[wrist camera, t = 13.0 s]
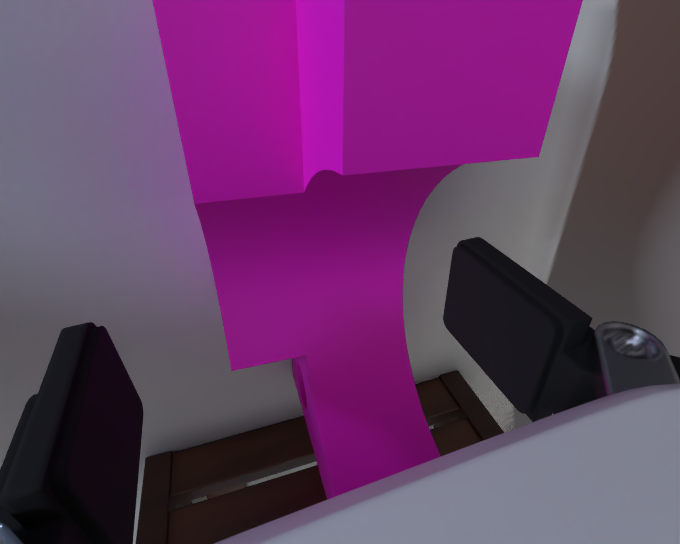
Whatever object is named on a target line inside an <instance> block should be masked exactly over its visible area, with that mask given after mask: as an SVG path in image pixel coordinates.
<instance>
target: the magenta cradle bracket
mask: <svg viewBox="0 0 680 544" xmlns="http://www.w3.org/2000/svg"><path fill="white" fill-rule="evenodd" d="M582 1H583V0H153V5H154V10H155V15H156V20H157V25H158V29H159V34H160V39H161V44H162V49H163V54H164V58H165V63H166V68H167V73H168V78H169V83H170V88H171V92H172V97H173V102H174V107H175V112H176V117H177V121H178V126H179V131H180V136H181V141H182V146H183V150H184V155H185V160H186V165H187V170H188V175H189V179H190V184H191V189H192V194H193V199H194V204H195V207H196V210H197V213H198V216H199V219H200V222H201V226H202V230H203V233H204V237H205V241H206V245H207V249H208V253H209V257H210V262H211V266H212V271H213V275H214V280H215V285H216V289H217V294H218V299H219V304H220V310H221V315H222V320H223V325H224V331H225V336H226V342H227V348H228V354H229V359H230V365H231V371H234V370H238V369H243V368H248V367H253V366H257V365H262V364H267V363H271V362H276V361H281V360H286V359H290V358H292V368H293V377H294V380H295V384H296V388H297V391H298V395H299V399H300V402H301V406H302V410H303V413H304V417H305V421H306V424H307V428H308V432H309V435H310V439H311V443H312V446H313V450H314V454H315V457H316V461H317V464H318V468H319V472H320V475H321V479H322V483H323V486H324V490H325V494H326V497H327V500H328V499H330V498H333V497H336V496H338V495H341V494H343V493H346V492H349V491H351V490H354V489H356V488H359V487H362V486H364V485H367V484H370V483H372V482H375V481H378V480H380V479H383V478H386V477H388V476H391V475H393V474H396V473H399V472H401V471H404V470H407V469H409V468H412V467H415V466H417V465H420V464H422V463H425V462H428V461H430V460H433V459H436V458H438V457H441V456H440V453H439V451H438V449H437V447H436V444H435V442H434V440H433V437H432V434H431V432H430V429H429V427H428V424H427V421H426V418H425V416H424V413H423V410H422V407H421V404H420V400H419V397H418V394H417V390H416V386H415V383H414V379H413V375H412V370H411V366H410V362H409V356H408V351H407V345H406V338H405V330H404V320H403V273H404V264H405V257H406V252H407V246H408V242H409V239H410V235H411V232H412V229H413V226H414V223H415V220H416V218H417V216H418V213H419V211H420V209H421V207H422V206H423V204H424V202H425V200H426V199H427V197H428V196H429V194H430V193H431V192H432V190H433V189H434V188H435V187H436V185H437V184H438V183H439V182H440V181H441V180H442V179H443V178H444V177H445V176H447V175H448V174H449V173H450V172H452V171H453V170H454V169H456V168H458V167H459V166H461V165H463V164H469V163H479V162H489V161H500V160H510V159H521V158H531V157H539V154H540V151H541V147H542V143H543V140H544V136H545V133H546V129H547V126H548V122H549V118H550V115H551V111H552V108H553V104H554V101H555V97H556V93H557V90H558V86H559V83H560V79H561V76H562V72H563V69H564V65H565V61H566V58H567V54H568V51H569V47H570V44H571V40H572V36H573V33H574V29H575V26H576V22H577V19H578V15H579V12H580V8H581V4H582Z"/></svg>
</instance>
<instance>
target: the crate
mask: <svg viewBox="0 0 680 544" xmlns="http://www.w3.org/2000/svg"><path fill="white" fill-rule="evenodd" d="M415 386H416V390H417V394H418V397H419V400H420V404H421V407H422V410H423V413H424V416H425V418H426V421H427V424H428V426H431V425H434V424H435V428H434V429H431V430H430V432H431V434H432V437H433V440H434V442H435V444H436V447H437V449H438V451H439V453H440V456H444V455H446V454H449V453H452V452H454V451H457V450H460V449H462V448H465V447H468V446H470V445H473V444H476V443H478V442H481V441H484V440H486V439H489V438H492V437H494V436H497V435H500V434H502V433H504V432H503V430H502V429H501V428H500V426H499V425H498V424H497V422H496V421H495V420H494V418H493V417H492V416H491V414H490V413H489V412H488V410H487V409H486V408H485V406H484V405H483V404H482V402H481V401H480V400H479V398H478V397H477V396H476V394H475V393H474V391H473V390H472V389H471V387H470V386H469V385H468V383H467V382H466V381H465V379H464V378H463V377H462V375H461V374H460V373H459V371H455V372H451V373H448V374H444V375H441V376H440V378H439V379H435V380H432V381H428V382H425V383H421V384H418V385H415ZM315 461H316V457H315V454H314V450H313V446H312V443H311V439H310V435H309V432H308V428H307V424H306V421H305V417H301V418H297V419H294V420H290V421H287V422H283V423H280V424H276V425H273V426H269V427H266V428H262V429H258V430H255V431H251V432H248V433H244V434H241V435H237V436H234V437H230V438H227V439H223V440H220V441H216V442H212V443H209V444H205V445H202V446H198V447H195V448H191V449H188V450H184V451H181V452H177V453H174V454H172V452H171V451H170V452H167V453H163V454H159V455H156V456H152V457H149V458H146V459H145V468H144V476H143V485H142V494H141V502H140V511H139V520H138V528H137V537H136V544H214V543H216V542H219V541H221V540H224V539H226V538H229V537H231V536H234V535H237V534H239V533H242V532H244V531H247V530H250V529H252V528H255V527H257V526H260V525H263V524H265V523H268V522H270V521H273V520H276V519H278V518H281V517H283V516H286V515H289V514H291V513H294V512H296V511H299V510H302V509H304V508H307V507H310V506H312V505H315V504H317V503H320V502H323V501H325V500H327V497H326V494H325V490H324V486H323V483H322V479H321V475H320V472H319V468H318V465H316V466H313V467H310V468H306V469H303V470H300V471H297V472H294V473H291V474H287V475H284V476H281V477H278V478H275V479H271V480H268V481H265V482H262V483H259V484H255V485H252V486H249V487H246V484H245V483H248V482H251V481H254V480H257V479H261V478H264V477H267V476H270V475H273V474H277V473H280V472H283V471H286V470H290V469H293V468H296V467H299V466H302V465H306V464H309V463H312V462H315ZM203 496H207V498H208V500H204V501H201V502H198V503H195V504H191V501H190V500H193V499H196V498H200V497H203Z"/></svg>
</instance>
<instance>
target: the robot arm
mask: <svg viewBox="0 0 680 544" xmlns="http://www.w3.org/2000/svg"><path fill="white" fill-rule="evenodd" d="M443 320H444V324H445V326H446V328H447V329H448V331H449V332H450V333H451V334H452V335H453V336H454V337H455V339H456V340H457V341H458V342H459V343H460V344H461V346H462V347H463V348H464V349H465V350H466V351H467V352H468V354H469V355H470V356H471V357H472V358H473V359H474V360H475V362H476V363H477V364H478V365H479V366H480V367H481V369H482V370H483V371H484V372H485V373H486V374H487V375H488V377H489V378H490V379H491V380H492V381H493V382H494V383H495V385H496V386H497V387H498V388H499V389H500V390H501V392H502V393H503V394H504V395H505V396H506V397H507V398H508V400H509V401H510V402H511V403H512V404H513V405H514V407H515V408H516V409H517V410H518V411H519V412H521V413H525V414H526V415H527V416H528V417H529V418H530V419H531V420H532V423H529V424H527V425H524V426H521V427H519V428H516V429H513V430H511V431H508V432H505V433H502V434H500V435H497V436H494V437H492V438H489V439H486V440H484V441H481V442H478V443H476V444H473V445H470V446H468V447H465V448H462V449H460V450H457V451H454V452H452V453H449V454H446V455H444V456H441V457H438V458H436V459H433V460H430V461H428V462H425V463H422V464H420V465H417V466H415V467H412V468H409V469H407V470H404V471H401V472H399V473H396V474H393V475H391V476H388V477H386V478H383V479H380V480H378V481H375V482H372V483H370V484H367V485H364V486H362V487H359V488H356V489H354V490H351V491H349V492H346V493H343V494H341V495H338V496H336V497H333V498H330V499H328V500H325V501H323V502H320V503H317V504H315V505H312V506H310V507H307V508H304V509H302V510H299V511H296V512H294V513H291V514H289V515H286V516H283V517H281V518H278V519H276V520H273V521H270V522H268V523H265V524H263V525H260V526H257V527H255V528H252V529H250V530H247V531H244V532H242V533H239V534H237V535H234V536H231V537H229V538H226V539H224V540H221V541H219V542H216V543H214V544H680V358H679V357H675V356H671V355H669V353H668V351H667V349H666V347H665V346H664V344H663V343H662V342H661V341H660V340H659V339H658V338H657V337H656V336H655V335H653V334H651V333H650V332H648V331H646V330H645V329H642V328H640V327H637V326H635V325H632V324H628V323H624V322H615V321H613V322H605V323H602V324H600V325H598V327H597V328H596V329H595V330H593V329H592V328H591V327H589V325H590V323H591V320H592V318H591V317H590V316H589V315H587V314H586V313H585V312H583V311H582V310H580V309H579V308H578V307H576V306H575V305H574V304H572V303H571V302H569V301H568V300H567V299H565V298H564V297H562V296H561V295H560V294H558V293H557V292H556V291H554V290H553V289H551V288H550V287H549V286H547V285H546V284H544V283H543V282H542V281H540V280H539V279H538V278H536V277H535V276H533V275H532V274H531V273H529V272H528V271H527V270H525V269H524V268H522V267H521V266H520V265H518V264H517V263H515V262H514V261H513V260H511V259H510V258H509V257H507V256H506V255H504V254H503V253H502V252H500V251H499V250H497V249H496V248H495V247H493V246H492V245H491V244H489V243H488V242H486V241H485V240H484V239H482V238H480V237H475V238H471V239H466V240H462V241H460V242H459V243H458V244H457V247H455V248H454V249H453V254H452V260H451V267H450V274H449V281H448V288H447V295H446V302H445V308H444V315H443ZM552 413H553V414H554V415H552ZM142 425H143V406H142V402H141V399H140V397H139V395H138V393H137V391H136V389H135V387H134V385H133V383H132V381H131V379H130V377H129V375H128V373H127V371H126V369H125V367H124V365H123V362H122V360H121V358H120V356H119V354H118V352H117V350H116V348H115V346H114V344H113V342H112V340H111V338H110V336H109V334H108V332H107V330H106V328H105V327H104V326H100V327H96V325H95V324H94V323H92V322H89V323H85V324H80V325H76V326H71V327H66V328H64V329H62V331H61V333H60V335H59V338H58V341H57V344H56V346H55V349H54V352H53V354H52V357H51V360H50V362H49V365H48V368H47V371H46V373H45V376H44V379H43V381H42V384H41V387H40V390H39V392H38V394H35V395H33V396H32V397H30V398H29V400H28V402H27V403H26V405H25V408H24V410H23V413H22V416H21V418H20V421H19V423H18V426H17V428H16V431H15V433H14V436H13V439H12V441H11V444H10V446H9V449H8V451H7V454H6V457H5V459H4V462H3V464H2V467H1V469H0V544H133V532H134V520H135V508H136V496H137V484H138V473H139V461H140V449H141V437H142Z"/></svg>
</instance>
